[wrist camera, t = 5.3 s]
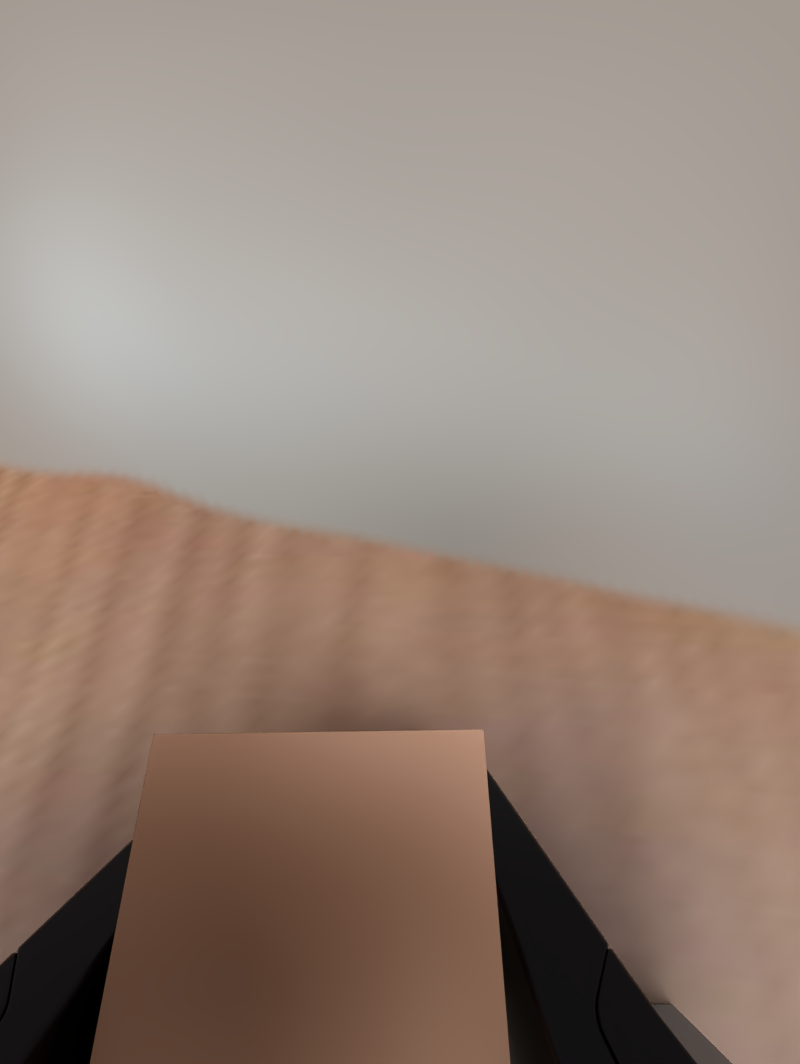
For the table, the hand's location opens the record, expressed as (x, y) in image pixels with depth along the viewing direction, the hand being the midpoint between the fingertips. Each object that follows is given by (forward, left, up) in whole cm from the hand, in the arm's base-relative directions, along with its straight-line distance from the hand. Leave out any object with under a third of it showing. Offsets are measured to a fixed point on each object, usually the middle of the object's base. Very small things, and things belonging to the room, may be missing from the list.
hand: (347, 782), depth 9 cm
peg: (-1, -1, -7) cm, 7 cm away
